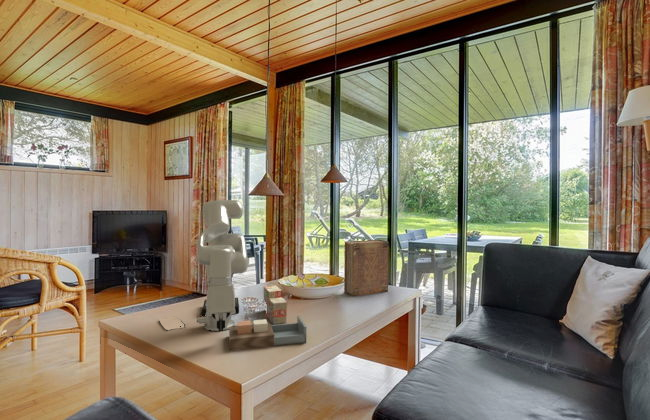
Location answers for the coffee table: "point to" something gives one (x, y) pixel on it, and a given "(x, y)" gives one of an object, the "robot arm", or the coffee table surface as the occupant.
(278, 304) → the stack of blocks
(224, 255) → the robot arm
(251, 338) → the walnut board
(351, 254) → the book
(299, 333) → the box
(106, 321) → the coffee table surface
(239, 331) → the terracotta tile
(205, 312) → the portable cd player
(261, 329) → the cream tile
